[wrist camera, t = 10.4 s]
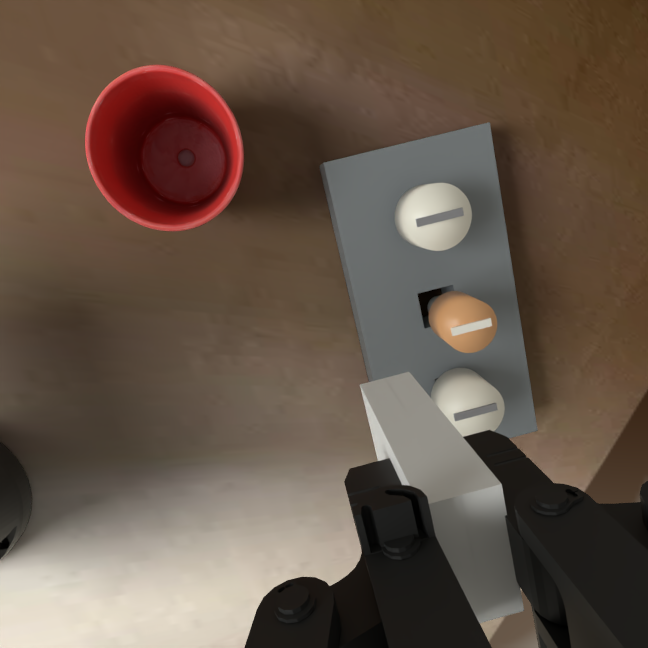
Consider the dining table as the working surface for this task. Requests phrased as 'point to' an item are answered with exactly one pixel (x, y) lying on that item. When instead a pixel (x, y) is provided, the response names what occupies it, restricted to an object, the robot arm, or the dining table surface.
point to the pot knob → (462, 321)
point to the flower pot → (164, 148)
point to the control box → (429, 265)
